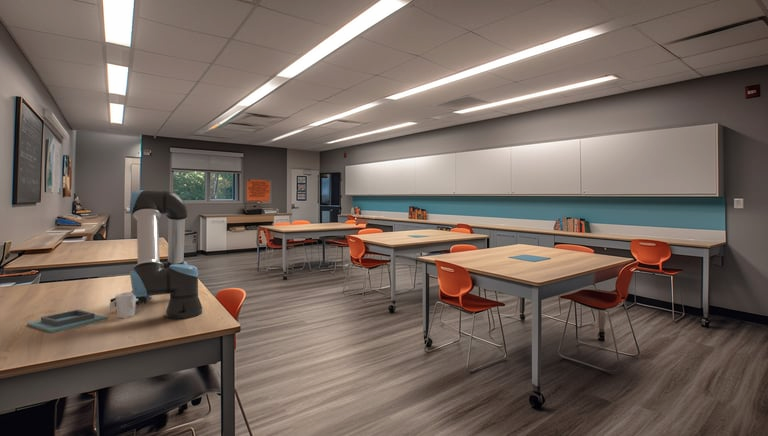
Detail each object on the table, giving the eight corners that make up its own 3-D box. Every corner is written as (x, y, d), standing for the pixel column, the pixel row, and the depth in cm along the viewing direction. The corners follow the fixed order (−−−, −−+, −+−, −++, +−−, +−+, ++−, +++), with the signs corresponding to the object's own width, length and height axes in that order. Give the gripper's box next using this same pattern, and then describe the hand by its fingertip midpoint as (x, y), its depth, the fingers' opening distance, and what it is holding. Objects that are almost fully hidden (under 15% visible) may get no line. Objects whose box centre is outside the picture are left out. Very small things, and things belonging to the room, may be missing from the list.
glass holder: (106, 319, 166) (106, 312, 166) (51, 332, 148) (51, 325, 148) (82, 313, 175) (82, 306, 175) (27, 325, 157) (27, 318, 157)
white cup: (138, 315, 172) (138, 294, 172) (118, 319, 166) (117, 297, 166) (133, 312, 177) (133, 291, 177) (113, 315, 172) (113, 294, 171)
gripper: (163, 300, 192) (147, 312, 169) (118, 302, 187) (95, 315, 164) (163, 285, 191) (146, 296, 169) (118, 287, 186) (94, 298, 164)
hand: (121, 305), depth 167 cm, fingers closed on white cup, 7 cm apart
